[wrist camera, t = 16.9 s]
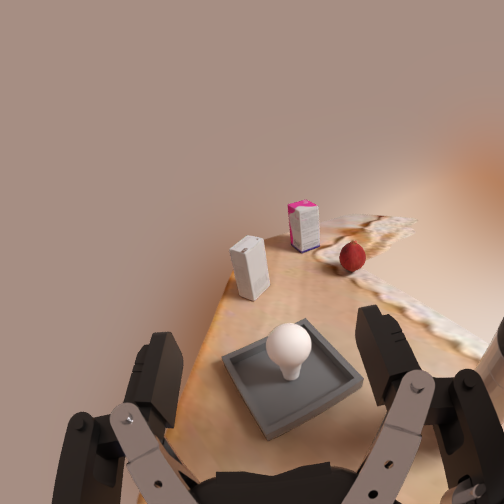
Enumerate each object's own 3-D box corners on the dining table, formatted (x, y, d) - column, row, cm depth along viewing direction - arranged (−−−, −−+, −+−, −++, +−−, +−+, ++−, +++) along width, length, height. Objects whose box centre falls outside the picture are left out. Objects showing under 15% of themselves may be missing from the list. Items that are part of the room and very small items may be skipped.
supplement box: (321, 246, 73) (319, 205, 67) (301, 254, 72) (298, 211, 66) (308, 237, 78) (306, 198, 72) (290, 244, 76) (286, 204, 71)
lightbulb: (277, 398, 39) (270, 354, 33) (267, 367, 44) (258, 321, 38) (316, 385, 39) (318, 339, 34) (303, 356, 45) (301, 308, 39)
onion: (342, 280, 60) (343, 248, 56) (336, 265, 65) (336, 235, 61) (367, 276, 60) (370, 245, 56) (360, 262, 65) (361, 232, 61)
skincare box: (255, 280, 65) (246, 233, 59) (271, 286, 63) (264, 237, 56) (238, 296, 61) (226, 248, 55) (255, 303, 59) (245, 253, 53)
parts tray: (305, 327, 51) (305, 318, 49) (361, 387, 38) (363, 378, 37) (224, 365, 46) (221, 356, 45) (268, 441, 33) (266, 435, 32)
